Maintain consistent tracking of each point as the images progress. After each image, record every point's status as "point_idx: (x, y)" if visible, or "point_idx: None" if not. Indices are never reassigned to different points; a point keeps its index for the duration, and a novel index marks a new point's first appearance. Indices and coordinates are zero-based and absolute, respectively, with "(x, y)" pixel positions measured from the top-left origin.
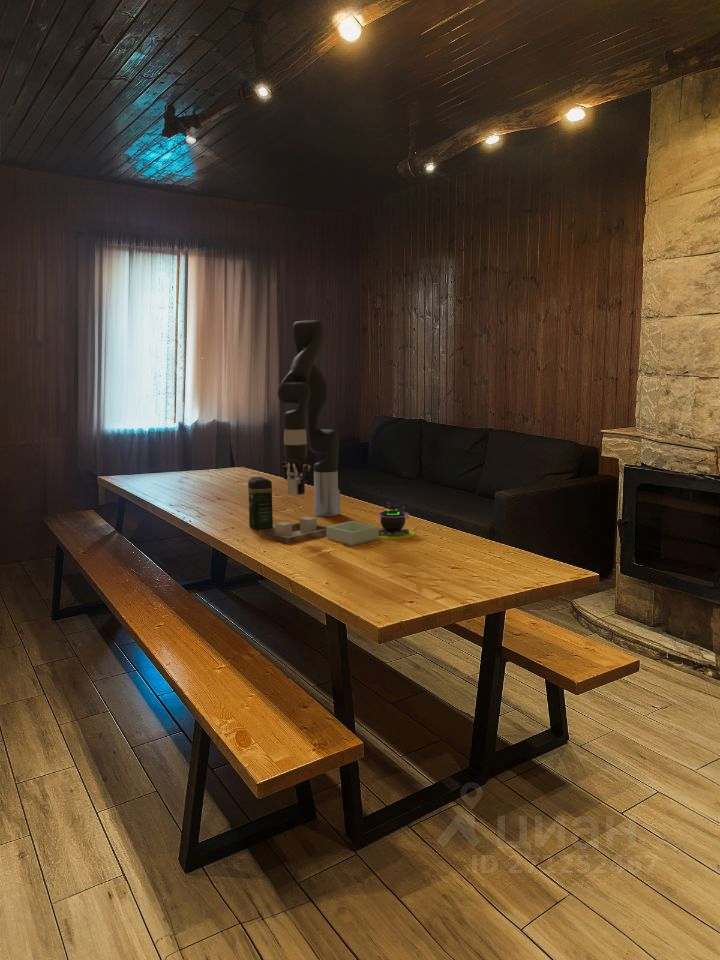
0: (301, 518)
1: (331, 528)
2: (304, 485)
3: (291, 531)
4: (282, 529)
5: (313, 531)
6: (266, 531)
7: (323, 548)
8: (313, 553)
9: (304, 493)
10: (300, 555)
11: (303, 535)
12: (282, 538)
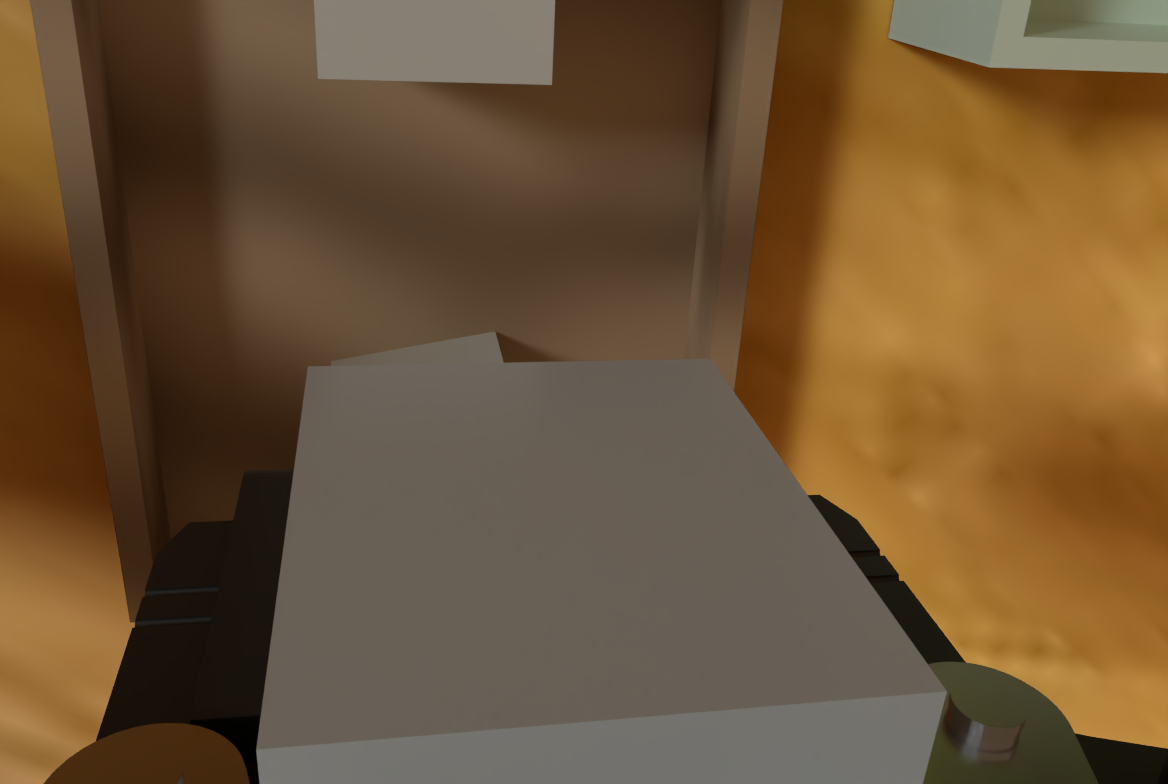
0: (353, 64)
1: (1090, 69)
2: (951, 645)
3: None
4: None
5: (736, 138)
6: (154, 535)
7: (1068, 343)
8: (1080, 527)
9: (709, 378)
10: (1013, 640)
11: (734, 347)
12: None
